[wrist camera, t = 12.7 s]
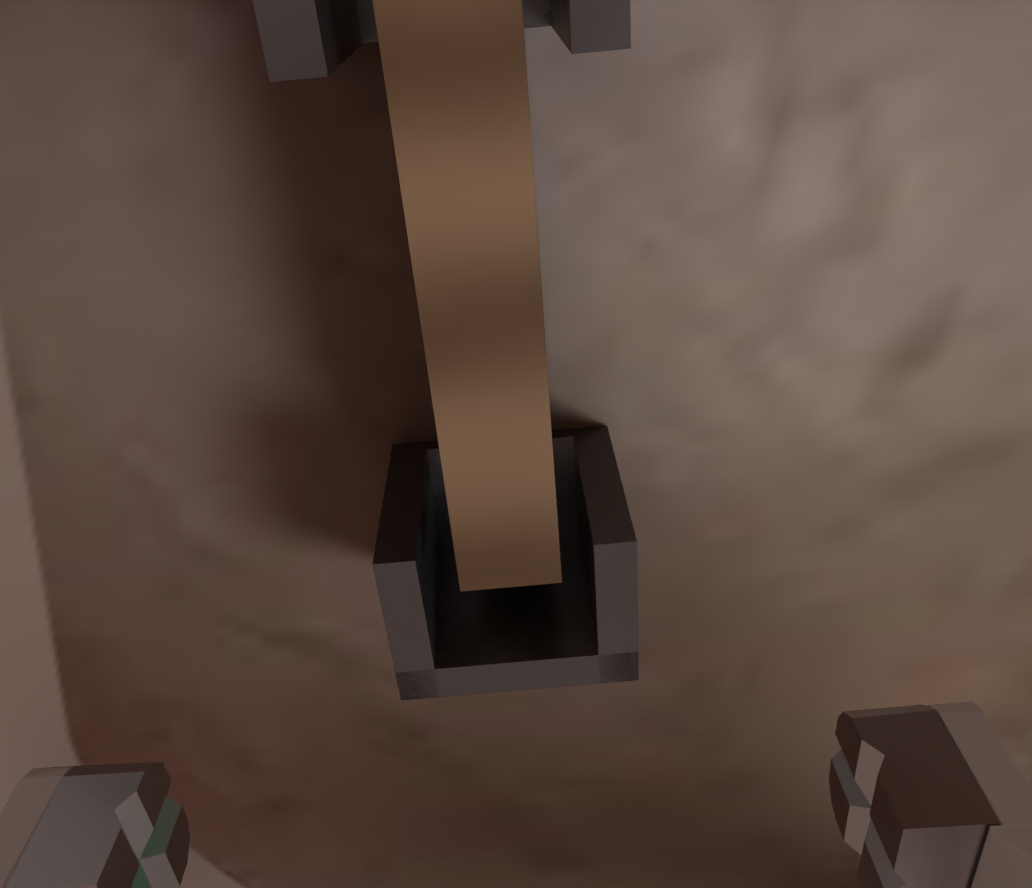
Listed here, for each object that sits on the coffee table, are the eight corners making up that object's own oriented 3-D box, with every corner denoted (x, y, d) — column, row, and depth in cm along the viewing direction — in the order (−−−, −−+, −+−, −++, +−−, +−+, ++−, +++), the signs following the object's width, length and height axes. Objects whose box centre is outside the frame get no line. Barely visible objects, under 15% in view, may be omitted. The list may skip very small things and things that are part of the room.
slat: (549, 480, 30) (561, 582, 25) (463, 487, 30) (460, 591, 25) (510, -47, 22) (519, -40, 17) (392, -36, 22) (368, -25, 17)
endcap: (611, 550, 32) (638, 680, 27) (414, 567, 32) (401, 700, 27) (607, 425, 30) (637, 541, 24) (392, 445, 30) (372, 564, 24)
